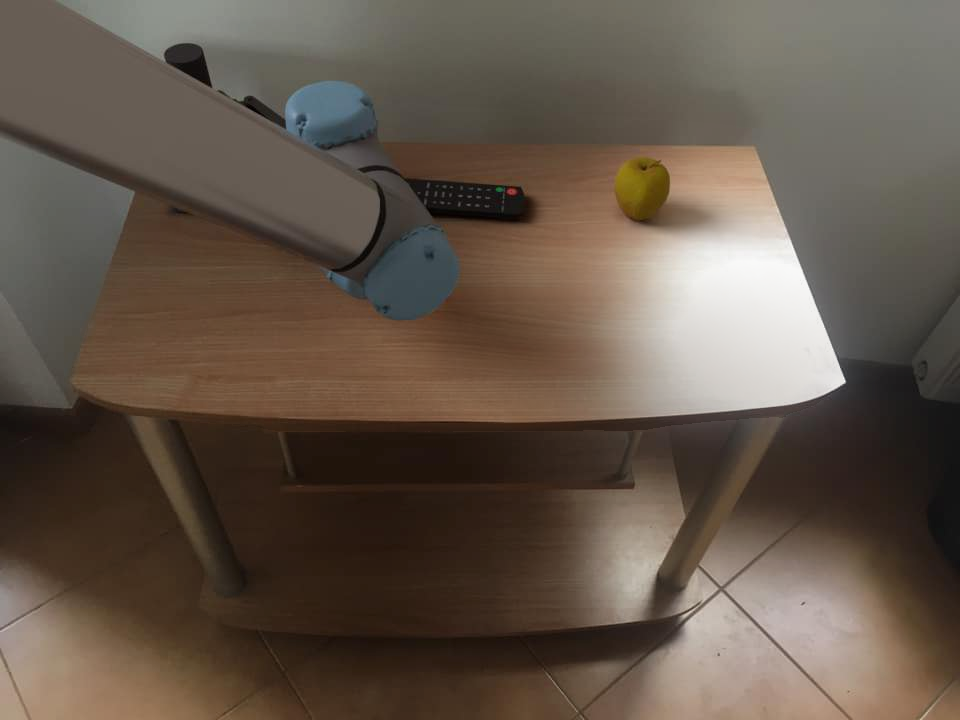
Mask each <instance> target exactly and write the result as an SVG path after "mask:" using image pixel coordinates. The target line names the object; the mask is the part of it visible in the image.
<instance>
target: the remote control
mask: <svg viewBox="0 0 960 720" xmlns="http://www.w3.org/2000/svg"><path fill="white" fill-rule="evenodd" d="M404 179H405V180H406V182H407V183H408V185H409V186H410V187H411V189H412V190H413V191H414V193H415V194H416V196H417V197H418V198H419V200H420V201H421V202H422V204H423V205H424V206H425V208H426V209H427V211H428V212H429V213H430V214H431V213H432V214H443V215H459V216H471V217H485V218H497V219H511V220H520V219H521V218H522V217H523V215H524V211H525V203H526V198H525V193H524V191H523V188H522V186H519V185H503V184H490V183H478V182H477V183H476V182H463V181H450V180H449V181H448V180H437V179H436V180H435V179H421V178H408V177H404Z"/></svg>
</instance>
